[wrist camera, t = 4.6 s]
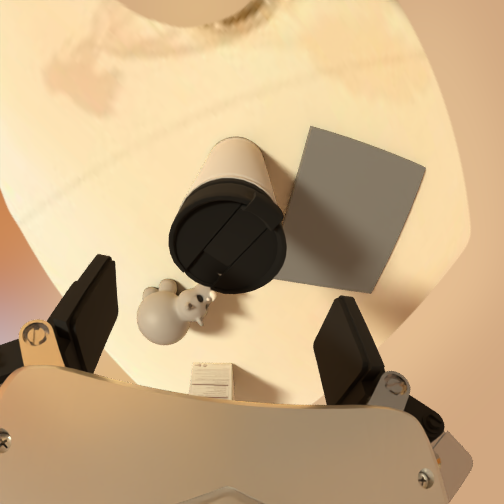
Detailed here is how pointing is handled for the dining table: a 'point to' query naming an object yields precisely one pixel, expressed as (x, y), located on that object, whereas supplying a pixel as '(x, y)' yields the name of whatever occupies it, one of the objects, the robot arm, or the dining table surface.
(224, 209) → the travel mug
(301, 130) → the dining table surface
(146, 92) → the dining table surface
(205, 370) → the supplement box
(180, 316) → the chubby cartoon animal
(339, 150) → the mat
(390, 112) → the dining table surface
